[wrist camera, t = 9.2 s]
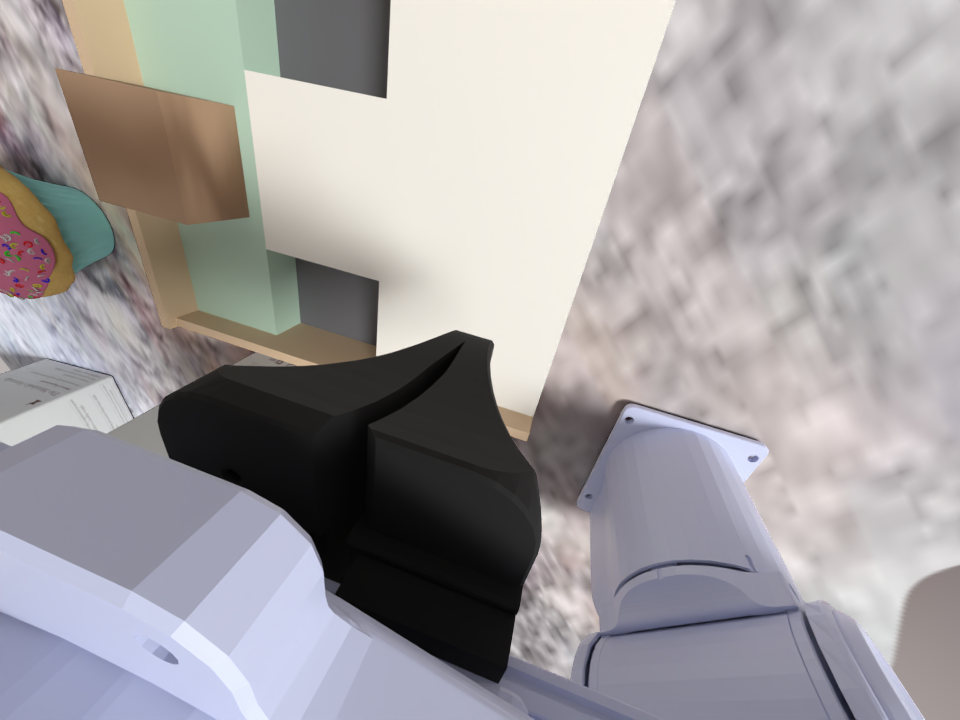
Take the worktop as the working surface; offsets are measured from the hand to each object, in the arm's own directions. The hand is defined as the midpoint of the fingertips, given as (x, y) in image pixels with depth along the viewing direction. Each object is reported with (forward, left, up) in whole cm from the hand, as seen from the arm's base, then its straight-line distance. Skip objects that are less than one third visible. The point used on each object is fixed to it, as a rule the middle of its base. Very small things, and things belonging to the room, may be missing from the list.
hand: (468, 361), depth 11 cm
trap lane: (+3, +9, -9) cm, 13 cm away
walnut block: (+3, +17, -7) cm, 19 cm away
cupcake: (-4, +32, -10) cm, 34 cm away
